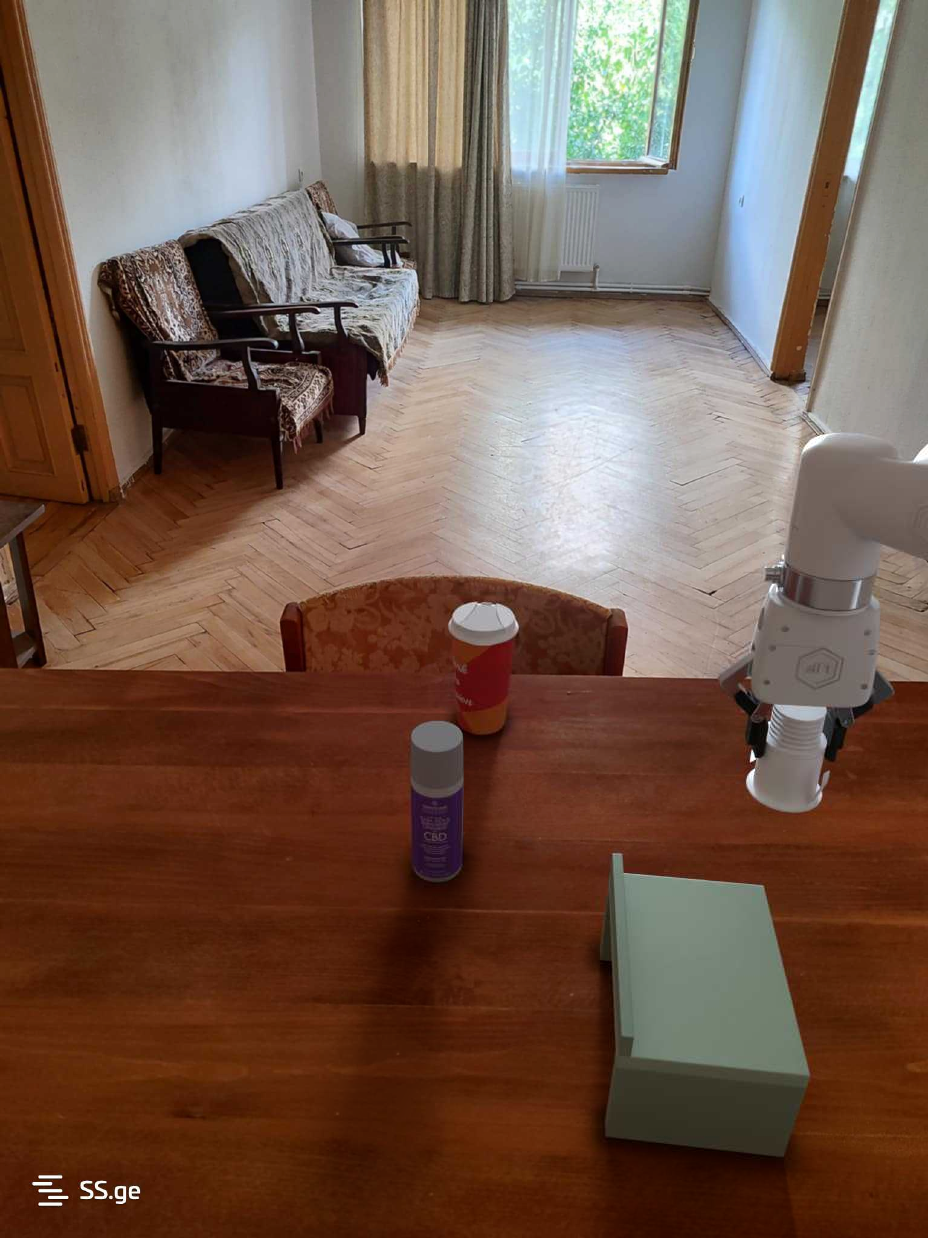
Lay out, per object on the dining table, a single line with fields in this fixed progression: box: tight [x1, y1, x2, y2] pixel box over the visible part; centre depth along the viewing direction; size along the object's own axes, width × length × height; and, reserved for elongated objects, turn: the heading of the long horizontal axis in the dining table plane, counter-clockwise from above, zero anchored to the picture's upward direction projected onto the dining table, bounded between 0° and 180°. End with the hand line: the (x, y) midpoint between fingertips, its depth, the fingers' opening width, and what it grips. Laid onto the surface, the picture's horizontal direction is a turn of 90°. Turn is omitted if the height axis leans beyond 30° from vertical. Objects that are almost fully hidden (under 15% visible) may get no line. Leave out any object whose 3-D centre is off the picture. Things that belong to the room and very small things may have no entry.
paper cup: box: [447, 601, 519, 736], centre depth 99 cm, size 8×8×14 cm
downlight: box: [745, 704, 831, 814], centre depth 84 cm, size 8×7×10 cm
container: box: [410, 720, 464, 883], centre depth 79 cm, size 5×5×15 cm
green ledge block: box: [599, 853, 811, 1158], centre depth 65 cm, size 12×16×11 cm
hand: (791, 749), depth 84 cm, fingers closed on downlight, 5 cm apart
